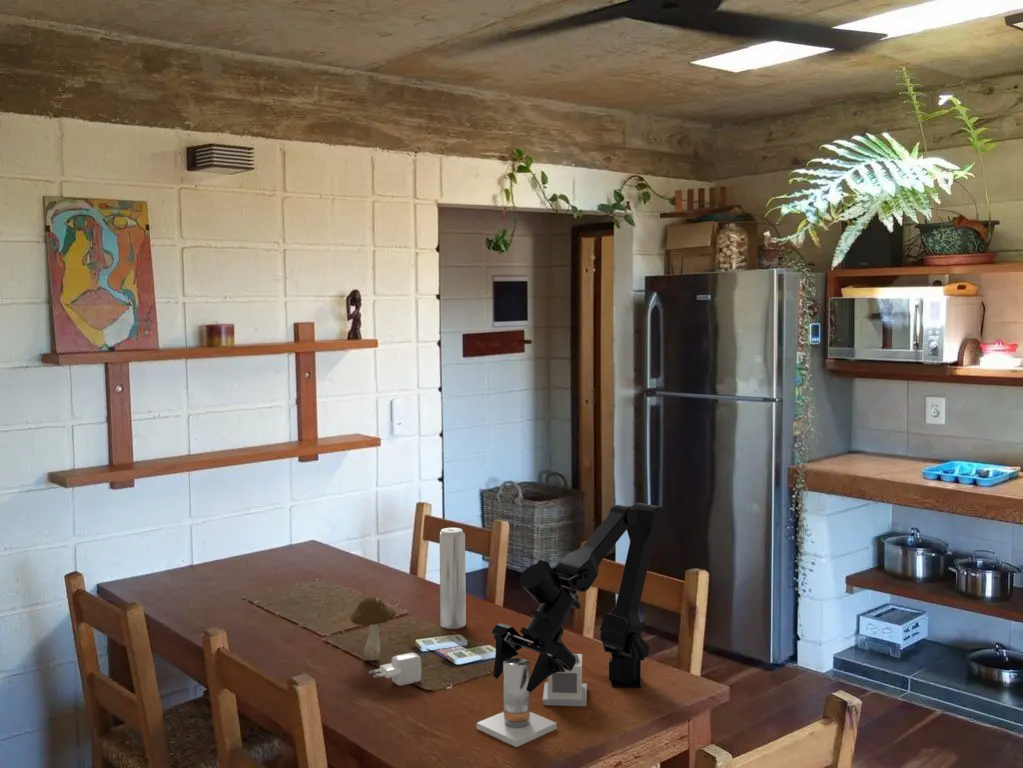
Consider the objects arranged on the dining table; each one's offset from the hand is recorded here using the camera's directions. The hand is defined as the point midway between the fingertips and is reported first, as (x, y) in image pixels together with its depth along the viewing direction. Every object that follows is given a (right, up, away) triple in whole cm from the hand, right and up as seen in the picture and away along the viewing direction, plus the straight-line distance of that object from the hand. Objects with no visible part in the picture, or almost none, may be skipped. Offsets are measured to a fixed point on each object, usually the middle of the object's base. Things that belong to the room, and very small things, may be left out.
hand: (511, 684), depth 187 cm
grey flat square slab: (+1, -9, +2) cm, 9 cm away
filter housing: (+11, -8, +17) cm, 22 cm away
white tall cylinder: (-15, -4, +62) cm, 64 cm away
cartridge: (+1, -8, +2) cm, 8 cm away
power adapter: (-25, -8, +24) cm, 36 cm away
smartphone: (-14, -6, +42) cm, 45 cm away
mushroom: (-32, -6, +39) cm, 51 cm away
